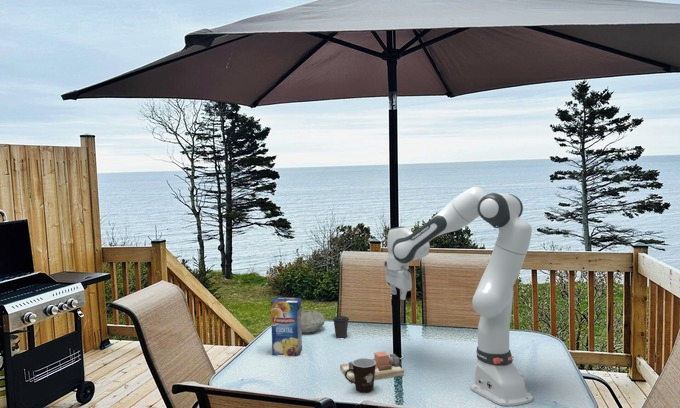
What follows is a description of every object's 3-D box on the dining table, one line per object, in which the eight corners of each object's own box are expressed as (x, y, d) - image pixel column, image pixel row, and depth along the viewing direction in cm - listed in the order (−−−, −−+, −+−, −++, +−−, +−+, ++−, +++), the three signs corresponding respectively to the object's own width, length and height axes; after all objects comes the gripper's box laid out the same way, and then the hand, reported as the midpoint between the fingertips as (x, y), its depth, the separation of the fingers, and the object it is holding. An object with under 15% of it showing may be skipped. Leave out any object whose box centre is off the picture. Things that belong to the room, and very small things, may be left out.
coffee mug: (374, 383, 183) (374, 357, 183) (377, 393, 175) (377, 366, 174) (344, 384, 183) (343, 358, 182) (345, 394, 174) (344, 367, 174)
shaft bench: (404, 375, 190) (403, 362, 190) (350, 383, 184) (350, 369, 184) (390, 362, 204) (390, 349, 203) (340, 369, 197) (340, 356, 197)
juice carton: (272, 355, 215) (270, 301, 213) (276, 349, 222) (275, 297, 221) (298, 356, 213) (297, 302, 211) (302, 350, 220) (301, 298, 219)
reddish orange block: (389, 367, 193) (388, 355, 193) (378, 368, 192) (378, 356, 192) (384, 363, 198) (384, 351, 198) (374, 364, 197) (374, 352, 196)
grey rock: (287, 327, 255) (287, 308, 254) (320, 323, 260) (319, 305, 259) (294, 337, 238) (294, 317, 237) (329, 333, 243) (329, 314, 242)
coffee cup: (330, 335, 239) (329, 316, 239) (345, 333, 243) (344, 313, 242) (337, 340, 232) (336, 320, 231) (352, 338, 235) (352, 317, 235)
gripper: (415, 268, 196) (415, 302, 196) (395, 260, 215) (395, 291, 216) (401, 269, 194) (401, 303, 195) (382, 261, 213) (382, 292, 214)
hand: (398, 296), depth 206 cm, fingers open, 8 cm apart
